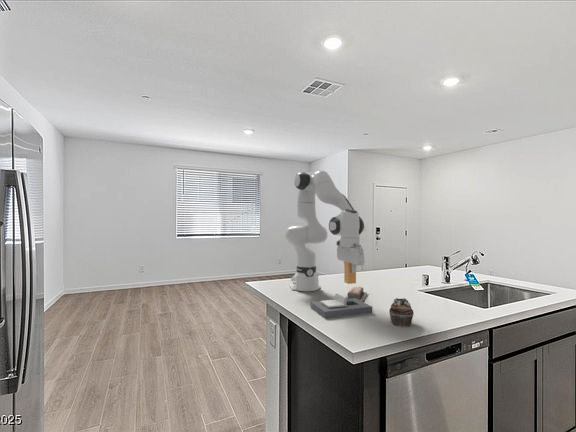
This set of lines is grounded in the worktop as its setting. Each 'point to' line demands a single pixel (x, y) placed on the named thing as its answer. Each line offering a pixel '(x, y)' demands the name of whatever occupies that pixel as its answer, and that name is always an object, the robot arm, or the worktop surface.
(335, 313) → the socket plate
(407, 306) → the cupcake
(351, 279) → the orange block
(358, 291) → the packaged product
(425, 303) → the worktop surface
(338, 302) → the shutter
